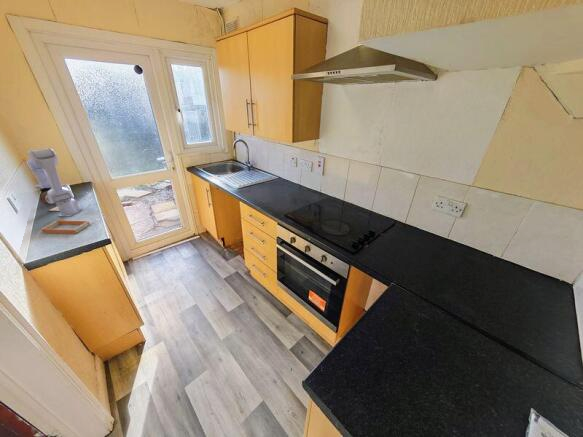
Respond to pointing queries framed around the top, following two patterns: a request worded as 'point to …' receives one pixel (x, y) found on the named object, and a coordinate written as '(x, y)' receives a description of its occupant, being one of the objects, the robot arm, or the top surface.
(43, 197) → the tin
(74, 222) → the wooden frame
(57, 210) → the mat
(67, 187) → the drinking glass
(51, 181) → the robot arm
